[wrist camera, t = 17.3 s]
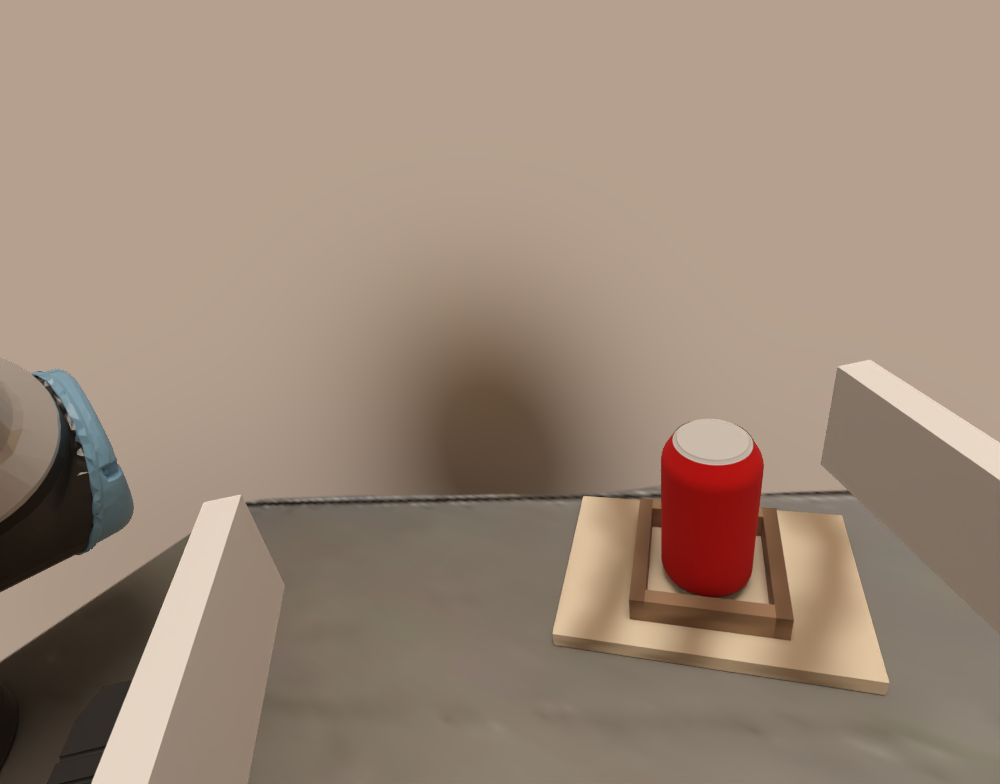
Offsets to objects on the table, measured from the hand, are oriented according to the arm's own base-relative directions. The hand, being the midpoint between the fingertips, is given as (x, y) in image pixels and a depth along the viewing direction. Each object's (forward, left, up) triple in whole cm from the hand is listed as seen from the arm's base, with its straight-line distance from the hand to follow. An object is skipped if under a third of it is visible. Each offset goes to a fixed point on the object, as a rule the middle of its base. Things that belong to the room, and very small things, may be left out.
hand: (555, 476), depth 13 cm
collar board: (+4, +22, -28) cm, 36 cm away
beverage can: (+4, +22, -27) cm, 35 cm away
